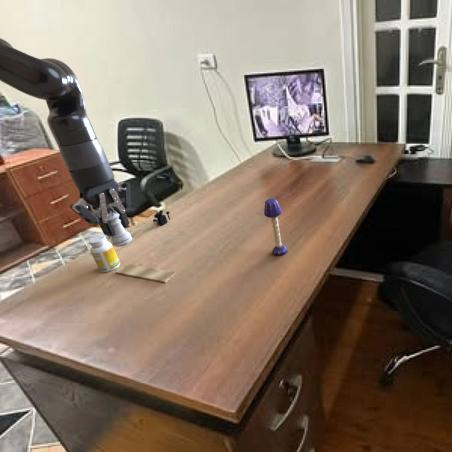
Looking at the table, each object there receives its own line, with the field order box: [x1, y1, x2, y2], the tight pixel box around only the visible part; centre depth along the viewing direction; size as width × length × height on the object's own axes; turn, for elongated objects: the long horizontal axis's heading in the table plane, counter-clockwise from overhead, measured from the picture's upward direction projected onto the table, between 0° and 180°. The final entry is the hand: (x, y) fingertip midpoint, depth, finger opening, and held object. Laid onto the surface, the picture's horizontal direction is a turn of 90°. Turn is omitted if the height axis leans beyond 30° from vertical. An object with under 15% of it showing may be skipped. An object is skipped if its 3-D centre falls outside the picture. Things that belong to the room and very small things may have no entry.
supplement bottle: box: [88, 234, 121, 273], centre depth 99 cm, size 5×5×10 cm
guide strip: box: [115, 263, 177, 284], centre depth 97 cm, size 18×4×1 cm, turn 70°
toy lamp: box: [263, 198, 288, 257], centre depth 96 cm, size 5×5×17 cm
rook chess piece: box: [107, 210, 133, 248], centre depth 82 cm, size 4×4×8 cm
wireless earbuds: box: [152, 209, 171, 227], centre depth 122 cm, size 7×2×5 cm, turn 156°
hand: (118, 231), depth 83 cm, fingers closed on rook chess piece, 3 cm apart
